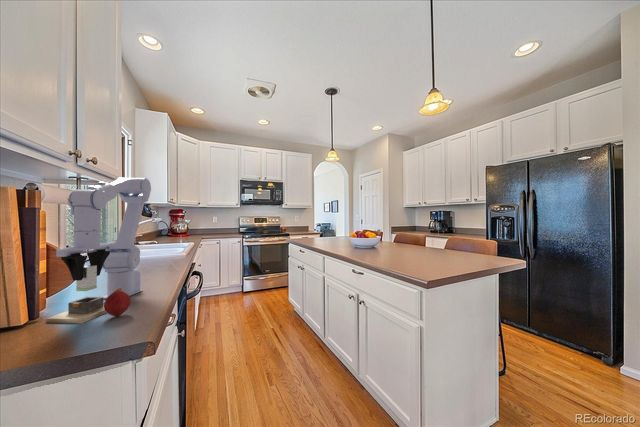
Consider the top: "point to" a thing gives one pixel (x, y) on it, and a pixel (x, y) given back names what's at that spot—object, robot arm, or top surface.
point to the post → (88, 279)
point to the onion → (117, 303)
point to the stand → (80, 311)
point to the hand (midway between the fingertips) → (86, 277)
